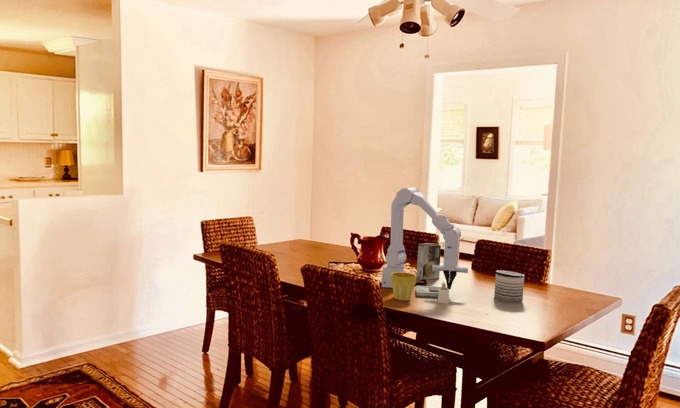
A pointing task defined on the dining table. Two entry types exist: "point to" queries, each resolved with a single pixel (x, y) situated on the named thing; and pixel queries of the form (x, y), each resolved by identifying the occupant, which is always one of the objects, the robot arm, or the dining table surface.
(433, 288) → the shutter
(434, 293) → the socket plate
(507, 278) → the can
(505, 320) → the dining table surface
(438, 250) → the coffee box
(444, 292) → the plug
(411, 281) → the plant pot
